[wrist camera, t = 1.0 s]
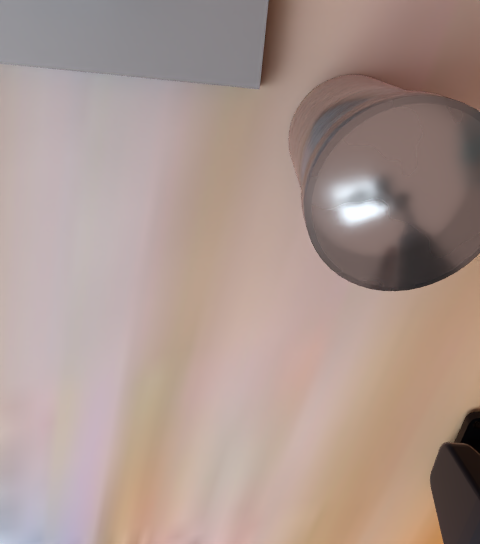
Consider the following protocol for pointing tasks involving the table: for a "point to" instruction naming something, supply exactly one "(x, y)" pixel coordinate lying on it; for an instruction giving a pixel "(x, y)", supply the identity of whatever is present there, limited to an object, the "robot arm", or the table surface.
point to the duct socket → (139, 38)
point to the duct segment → (388, 181)
